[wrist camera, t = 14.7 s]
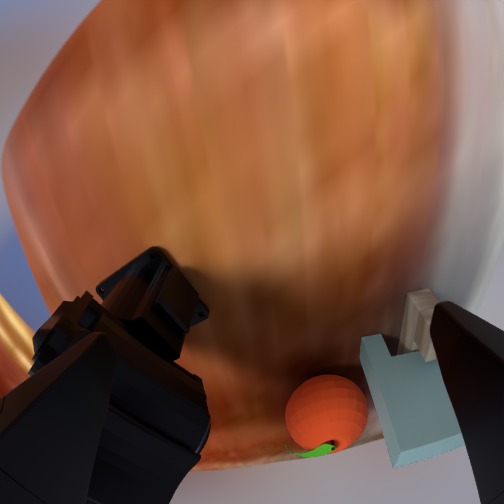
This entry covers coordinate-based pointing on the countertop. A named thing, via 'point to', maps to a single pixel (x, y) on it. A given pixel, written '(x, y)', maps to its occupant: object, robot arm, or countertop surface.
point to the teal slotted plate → (409, 403)
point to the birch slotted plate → (418, 324)
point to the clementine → (326, 415)
